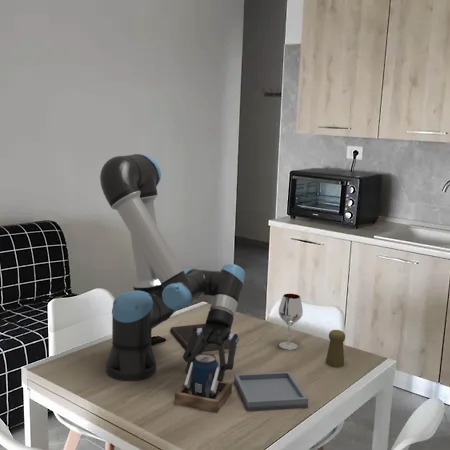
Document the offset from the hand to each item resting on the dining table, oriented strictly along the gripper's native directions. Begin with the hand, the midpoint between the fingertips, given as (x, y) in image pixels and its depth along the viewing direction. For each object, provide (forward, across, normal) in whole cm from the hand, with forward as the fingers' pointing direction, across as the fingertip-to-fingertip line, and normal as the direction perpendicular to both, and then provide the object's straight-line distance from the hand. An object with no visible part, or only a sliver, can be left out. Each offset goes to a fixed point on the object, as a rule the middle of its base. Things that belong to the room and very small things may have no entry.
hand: (199, 389), depth 160 cm
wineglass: (-32, -14, -38) cm, 52 cm away
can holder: (+1, 0, -6) cm, 6 cm away
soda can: (+1, 0, -6) cm, 6 cm away
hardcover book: (-26, +15, -33) cm, 44 cm away
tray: (-6, -16, -12) cm, 21 cm away
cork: (-27, -31, -33) cm, 52 cm away
